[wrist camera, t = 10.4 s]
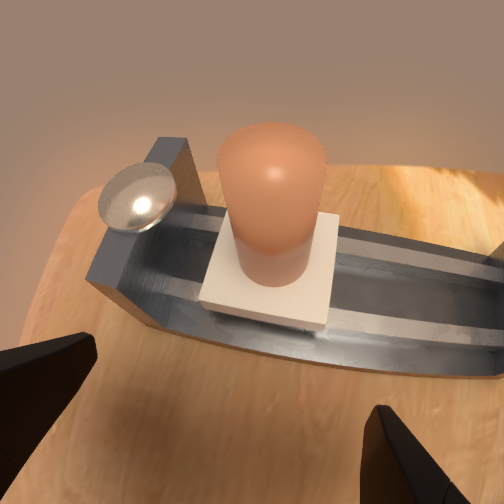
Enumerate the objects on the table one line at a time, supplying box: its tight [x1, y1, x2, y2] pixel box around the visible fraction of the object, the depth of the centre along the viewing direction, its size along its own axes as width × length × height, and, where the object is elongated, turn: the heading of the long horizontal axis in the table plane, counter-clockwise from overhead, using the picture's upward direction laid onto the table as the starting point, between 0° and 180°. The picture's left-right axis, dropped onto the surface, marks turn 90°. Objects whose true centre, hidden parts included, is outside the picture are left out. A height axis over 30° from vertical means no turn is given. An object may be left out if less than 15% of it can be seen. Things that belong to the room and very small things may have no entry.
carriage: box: [198, 122, 339, 332], centre depth 15 cm, size 7×7×9 cm
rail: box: [85, 137, 504, 379], centre depth 17 cm, size 30×10×9 cm, turn 77°
